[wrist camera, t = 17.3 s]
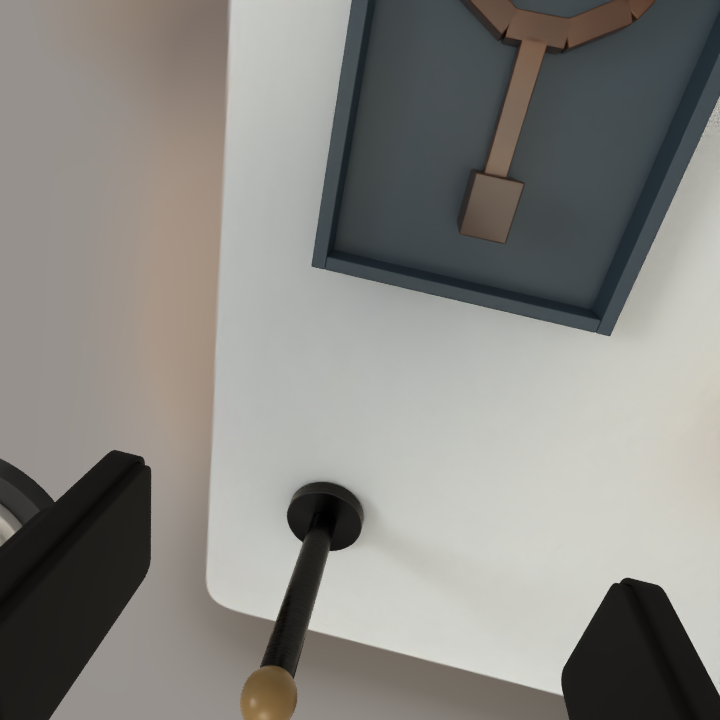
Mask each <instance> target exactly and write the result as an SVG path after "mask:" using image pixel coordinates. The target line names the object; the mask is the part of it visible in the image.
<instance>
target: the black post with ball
mask: <svg viewBox="0 0 720 720" xmlns="http://www.w3.org/2000/svg"><path fill="white" fill-rule="evenodd" d="M287 520H288V524H289V527H290V529H291V530H292V532H293V533H294V535H295V536H296V537H297V538H298V539H299V540H301V541H302V542H303V545H302V548H301V551H300V554H299V556H298V559H297V562H296V565H295V568H294V571H293V574H292V577H291V579H290V582H289V585H288V588H287V591H286V594H285V597H284V600H283V602H282V605H281V608H280V611H279V614H278V617H277V620H276V623H275V625H274V628H273V632H272V634H271V637H270V640H269V643H268V646H267V649H266V651H265V654H264V657H263V660H262V663H261V666H260V668H259V669H257V670H256V671H255V672H253V673H252V674H251V676H250V677H249V678H248V679H247V681H246V683H245V685H244V687H243V689H242V693H241V698H240V708H241V713H242V716H243V719H244V720H290V718H291V717H292V715H293V713H294V710H295V707H296V703H297V689H296V685H295V682H294V676H295V672H296V668H297V665H298V661H299V658H300V654H301V650H302V647H303V643H304V640H305V636H306V632H307V629H308V625H309V622H310V618H311V614H312V611H313V607H314V604H315V600H316V596H317V593H318V589H319V585H320V582H321V578H322V575H323V571H324V567H325V564H326V560H327V557H328V553H329V551H337V550H341V549H344V548H347V547H349V546H350V545H352V544H353V543H354V542H355V541H356V540H357V539H358V537H359V535H360V533H361V529H362V524H363V510H362V507H361V505H360V503H359V501H358V500H357V498H356V497H355V496H354V495H353V494H352V493H351V492H349V491H348V490H346V489H345V488H343V487H341V486H338V485H335V484H332V483H326V482H317V483H312V484H308V485H306V486H304V487H302V488H301V489H299V490H298V491H297V492H296V493H295V495H294V496H293V499H292V501H291V503H290V506H289V508H288V512H287Z"/></svg>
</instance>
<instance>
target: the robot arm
mask: <svg viewBox="0 0 720 720" xmlns="http://www.w3.org/2000/svg"><path fill="white" fill-rule="evenodd" d="M150 560H151V468H150V467H149V466H146V465H145V462H144V459H143V457H141V456H137V455H133V454H129V453H124V452H121V451H117V450H113V451H111V452H109V453H108V454H107V455H106V456H105V457H104V458H102V460H100V461H99V462H98V463H97V464H96V465H95V466H94V467H93V468H92V469H91V470H90V471H88V473H86V474H85V475H84V476H83V477H82V478H81V479H80V480H79V481H78V482H77V483H76V484H74V485H73V486H72V487H71V488H70V489H69V490H68V491H67V492H66V493H65V494H64V495H63V496H62V497H60V498H59V499H58V500H57V501H56V502H55V503H54V504H53V505H52V506H49V507H46V508H44V509H42V510H41V511H39V512H38V513H37V514H35V515H34V516H33V517H32V518H31V519H30V520H29V521H28V522H27V523H26V524H24V525H22V524H21V523H20V521H19V520H18V519H17V518H16V517H15V516H14V515H13V514H12V513H11V512H10V511H9V510H8V509H7V508H6V507H4V506H3V505H2V504H1V503H0V720H49V719H50V717H51V716H52V714H53V713H54V711H55V710H56V708H57V707H58V705H59V704H60V702H61V701H62V699H63V698H64V696H65V695H66V693H67V692H68V691H69V689H70V688H71V686H72V685H73V683H74V682H75V680H76V679H77V677H78V676H79V674H80V673H81V671H82V670H83V668H84V667H85V665H86V664H87V663H88V661H89V659H90V658H91V656H92V655H93V654H94V652H95V651H96V649H97V648H98V646H99V645H100V643H101V642H102V640H103V639H104V637H105V636H106V634H107V633H108V631H109V630H110V628H111V626H112V625H113V624H114V623H115V621H116V619H117V618H118V616H119V615H120V614H121V612H122V610H123V609H124V608H125V606H126V605H127V603H128V602H129V600H130V599H131V597H132V596H133V594H134V593H135V591H136V590H137V589H138V587H139V586H140V584H141V583H142V581H143V580H144V578H145V576H146V574H147V572H148V569H149V566H150ZM561 683H562V691H563V695H564V699H565V703H566V707H567V712H568V716H569V720H720V695H719V694H718V692H717V690H716V688H715V686H714V684H713V682H712V680H711V678H710V676H709V675H708V673H707V671H706V669H705V667H704V665H703V663H702V661H701V659H700V657H699V656H698V654H697V652H696V650H695V648H694V646H693V644H692V642H691V640H690V638H689V637H688V635H687V633H686V631H685V629H684V627H683V625H682V623H681V621H680V619H679V618H678V616H677V614H676V612H675V610H674V608H673V606H672V604H671V602H670V600H669V599H668V597H667V595H666V593H665V592H664V590H663V589H662V588H661V587H660V586H658V585H655V584H651V583H647V582H643V581H639V580H635V579H631V578H625V579H623V580H622V581H621V582H620V583H614V584H613V585H612V586H611V587H610V589H609V591H608V592H607V594H606V596H605V597H604V599H603V601H602V603H601V604H600V606H599V608H598V609H597V611H596V613H595V615H594V616H593V618H592V620H591V622H590V623H589V625H588V627H587V628H586V630H585V632H584V634H583V635H582V637H581V639H580V640H579V642H578V644H577V646H576V647H575V649H574V651H573V652H572V654H571V656H570V658H569V659H568V661H567V663H566V665H565V666H564V668H563V671H562V678H561Z"/></svg>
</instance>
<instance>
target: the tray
mask: <svg viewBox="0 0 720 720" xmlns="http://www.w3.org/2000/svg"><path fill="white" fill-rule="evenodd" d="M511 1H512V2H513V4H514V5H515V6H516V7H517V8H519V9H524V10H529V11H534V12H539V13H544V14H549V15H555V16H560V17H565V18H571V17H573V16H576V15H578V14H581V13H583V12H586V11H588V10H590V9H593V8H595V7H598V6H600V5H603V4H605V3H608V2H610V1H613V0H511ZM503 37H504V35H503ZM503 37H502V38H501V39H500V40H499V41H497V40H496V39H495V38H494V37H493V36H492V34H491V33H490V32H489V31H488V30H487V29H486V28H485V27H484V26H483V25H482V24H481V23H480V21H479V20H478V19H477V18H476V17H475V16H474V15H473V14H472V13H471V12H470V11H469V10H468V9H467V7H466V6H465V5H464V4H463V3H462V2H461V1H460V0H352V3H351V10H350V17H349V23H348V30H347V36H346V43H345V49H344V56H343V63H342V69H341V76H340V82H339V89H338V95H337V102H336V108H335V115H334V122H333V128H332V135H331V141H330V148H329V154H328V161H327V168H326V174H325V181H324V187H323V194H322V200H321V207H320V214H319V220H318V227H317V233H316V240H315V246H314V253H313V259H312V267H316V268H320V269H326V270H330V271H334V272H338V273H342V274H347V275H351V276H355V277H360V278H364V279H368V280H372V281H377V282H381V283H385V284H389V285H394V286H398V287H402V288H407V289H411V290H415V291H419V292H424V293H428V294H432V295H436V296H441V297H445V298H449V299H454V300H458V301H462V302H466V303H471V304H475V305H479V306H483V307H488V308H492V309H496V310H500V311H505V312H509V313H513V314H518V315H522V316H526V317H530V318H535V319H539V320H543V321H547V322H552V323H556V324H560V325H565V326H569V327H573V328H577V329H582V330H586V331H590V332H596V333H598V334H602V335H606V336H610V335H611V333H612V331H613V328H614V326H615V324H616V322H617V320H618V317H619V315H620V313H621V311H622V309H623V307H624V304H625V302H626V300H627V298H628V296H629V293H630V291H631V289H632V287H633V285H634V282H635V280H636V278H637V276H638V274H639V271H640V269H641V267H642V265H643V263H644V260H645V258H646V256H647V254H648V252H649V250H650V247H651V245H652V243H653V241H654V239H655V236H656V234H657V232H658V230H659V228H660V225H661V223H662V221H663V219H664V217H665V214H666V212H667V210H668V208H669V206H670V203H671V201H672V199H673V197H674V195H675V193H676V190H677V188H678V186H679V184H680V182H681V179H682V177H683V175H684V173H685V171H686V168H687V166H688V164H689V162H690V160H691V157H692V155H693V153H694V151H695V149H696V146H697V144H698V142H699V140H700V138H701V136H702V133H703V131H704V129H705V127H706V125H707V122H708V120H709V118H710V116H711V114H712V111H713V109H714V107H715V105H716V103H717V100H718V98H719V96H720V0H656V1H655V3H654V4H653V5H652V6H651V7H650V8H649V9H648V10H647V11H646V12H645V13H644V14H643V15H642V16H641V17H640V18H639V19H638V20H637V21H635V22H634V23H632V24H631V25H630V26H628V27H627V28H625V29H623V30H622V31H620V32H618V33H615V34H613V35H610V36H607V37H605V38H602V39H600V40H597V41H594V42H592V43H589V44H587V45H584V46H582V47H579V48H576V49H574V50H571V51H569V52H566V53H564V54H561V51H560V52H559V53H558V54H556V55H555V54H550V53H545V54H544V57H543V61H542V64H541V67H540V71H539V74H538V77H537V80H536V84H535V87H534V90H533V93H532V97H531V100H530V103H529V106H528V110H527V113H526V116H525V120H524V123H523V126H522V129H521V133H520V136H519V139H518V142H517V146H516V149H515V152H514V155H513V159H512V162H511V165H510V169H509V172H508V175H507V176H508V177H513V178H515V179H517V180H520V181H522V182H524V183H525V185H524V189H523V192H522V195H521V198H520V201H519V204H518V207H517V210H516V213H515V216H514V219H513V223H512V226H511V229H510V232H509V235H508V238H507V241H506V243H505V244H501V243H496V242H492V241H487V240H483V239H479V238H474V237H470V236H465V235H461V234H459V229H458V225H457V220H458V216H459V212H460V209H461V205H462V201H463V198H464V194H465V191H466V187H467V183H468V180H469V176H470V172H471V170H472V169H476V170H480V171H482V170H483V166H484V163H485V159H486V156H487V152H488V148H489V145H490V141H491V138H492V134H493V131H494V127H495V124H496V120H497V117H498V113H499V110H500V106H501V103H502V99H503V96H504V92H505V89H506V85H507V81H508V78H509V74H510V71H511V67H512V64H513V60H514V57H515V53H516V50H517V47H515V46H510V45H505V44H502V40H503Z"/></svg>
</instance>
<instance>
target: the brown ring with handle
mask: <svg viewBox="0 0 720 720" xmlns="http://www.w3.org/2000/svg"><path fill="white" fill-rule="evenodd" d="M460 1H461V2H462V3H463V4H464V5H465V6H466V7H467V9H468V10H469V11H470V12H471V13H472V14H473V15H474V16H475V17H476V18H477V19H478V20H479V21H480V23H481V24H482V25H483V26H484V27H485V28H486V29H487V30H488V31H489V32H490V33H491V34H492V36H493V37H494V38H495V39H496V40H497V41H499V40H500V39H501V38H502V37H503V35H504V37H503V40H502V44H505V45H510V46H515V47H517V50H516V53H515V57H514V60H513V64H512V67H511V71H510V74H509V78H508V81H507V85H506V89H505V92H504V96H503V99H502V103H501V106H500V110H499V113H498V117H497V120H496V124H495V127H494V131H493V134H492V138H491V141H490V145H489V148H488V152H487V156H486V159H485V163H484V166H483V170H482V171H480V170H476V169H472V170H471V172H470V176H469V180H468V183H467V187H466V191H465V194H464V198H463V201H462V205H461V209H460V212H459V216H458V220H457V225H458V229H459V234H461V235H465V236H470V237H474V238H479V239H483V240H487V241H492V242H496V243H501V244H505V243H506V241H507V238H508V235H509V232H510V229H511V226H512V223H513V219H514V216H515V213H516V210H517V207H518V204H519V201H520V198H521V195H522V192H523V189H524V185H525V183H524V182H522V181H520V180H517V179H515V178H513V177H508V176H507V175H508V172H509V169H510V165H511V162H512V159H513V155H514V152H515V149H516V146H517V142H518V139H519V136H520V133H521V129H522V126H523V123H524V120H525V116H526V113H527V110H528V106H529V103H530V100H531V97H532V93H533V90H534V87H535V84H536V80H537V77H538V74H539V71H540V67H541V64H542V61H543V57H544V54H545V53H550V54H555V55H556V54H558V53H559V52H560V51H561V54H564V53H566V52H569V51H571V50H574V49H576V48H579V47H582V46H584V45H587V44H589V43H592V42H594V41H597V40H600V39H602V38H605V37H607V36H610V35H613V34H615V33H618V32H620V31H622V30H623V29H625V28H627V27H628V26H630V25H631V24H632V23H634V22H635V21H637V20H638V19H639V18H640V17H641V16H642V15H643V14H644V13H645V12H646V11H647V10H648V9H649V8H650V7H651V6H652V5H653V4H654V3H655V1H656V0H613V1H610V2H608V3H605V4H603V5H600V6H598V7H595V8H593V9H590V10H588V11H586V12H583V13H581V14H578V15H576V16H573V17H571V18H565V17H560V16H555V15H549V14H544V13H539V12H534V11H529V10H524V9H519V8H517V7H516V6H515V5H514V4H513V2H512V1H511V0H460Z"/></svg>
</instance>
